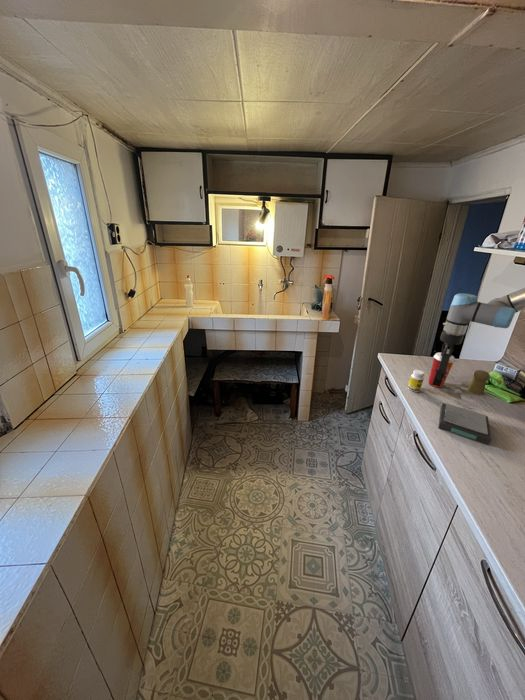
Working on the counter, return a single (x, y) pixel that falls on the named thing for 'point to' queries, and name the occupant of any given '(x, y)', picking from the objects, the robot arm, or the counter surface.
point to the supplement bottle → (416, 381)
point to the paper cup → (435, 367)
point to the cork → (479, 382)
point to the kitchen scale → (465, 423)
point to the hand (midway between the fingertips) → (437, 379)
